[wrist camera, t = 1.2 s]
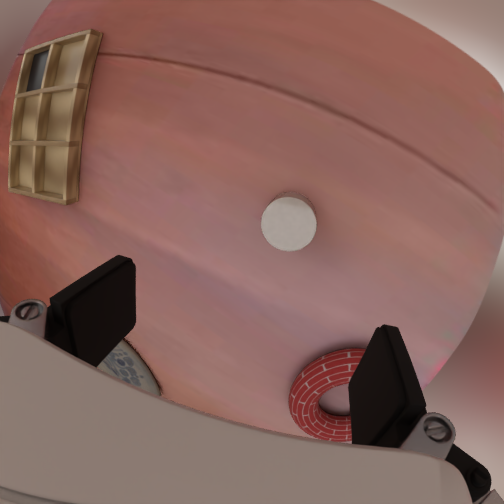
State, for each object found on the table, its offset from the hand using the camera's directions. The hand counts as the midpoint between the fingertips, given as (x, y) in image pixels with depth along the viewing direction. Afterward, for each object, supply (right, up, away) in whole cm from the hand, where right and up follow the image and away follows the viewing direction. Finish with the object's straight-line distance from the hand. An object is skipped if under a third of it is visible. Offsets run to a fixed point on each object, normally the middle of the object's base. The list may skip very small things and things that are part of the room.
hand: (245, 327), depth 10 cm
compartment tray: (-25, +20, +16) cm, 36 cm away
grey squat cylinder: (+4, +6, +15) cm, 17 cm away
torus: (+12, -14, +21) cm, 28 cm away
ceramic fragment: (-19, -14, +27) cm, 36 cm away
